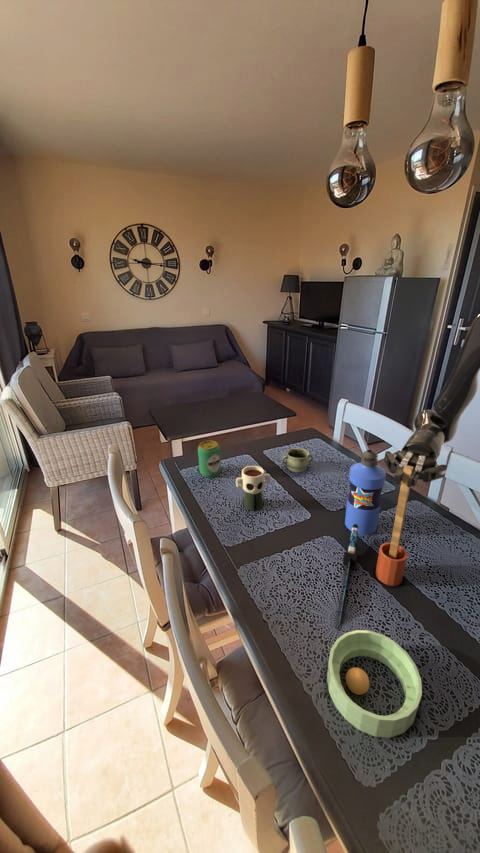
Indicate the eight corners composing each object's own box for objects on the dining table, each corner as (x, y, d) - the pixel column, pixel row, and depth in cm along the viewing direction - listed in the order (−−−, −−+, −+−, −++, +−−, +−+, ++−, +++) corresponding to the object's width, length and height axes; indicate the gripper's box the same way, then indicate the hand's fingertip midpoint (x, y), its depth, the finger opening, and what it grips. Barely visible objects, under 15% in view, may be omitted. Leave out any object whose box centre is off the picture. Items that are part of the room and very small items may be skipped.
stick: (390, 552, 86) (405, 464, 76) (397, 555, 85) (413, 466, 76) (388, 556, 85) (403, 467, 75) (395, 559, 84) (412, 470, 74)
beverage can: (206, 480, 132) (203, 451, 127) (196, 471, 138) (193, 443, 133) (225, 474, 136) (223, 445, 131) (214, 465, 142) (212, 438, 137)
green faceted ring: (398, 652, 72) (403, 631, 69) (430, 744, 58) (437, 723, 56) (321, 648, 73) (323, 628, 70) (334, 738, 59) (337, 717, 57)
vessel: (284, 474, 134) (284, 459, 132) (279, 462, 142) (279, 448, 140) (315, 471, 135) (316, 457, 133) (309, 460, 143) (310, 446, 141)
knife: (351, 533, 102) (352, 521, 100) (362, 536, 101) (364, 524, 98) (325, 632, 78) (326, 619, 76) (339, 637, 77) (340, 625, 75)
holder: (396, 570, 91) (402, 542, 87) (405, 590, 85) (411, 561, 82) (372, 569, 91) (376, 541, 88) (379, 589, 86) (384, 560, 82)
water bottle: (348, 512, 113) (357, 440, 102) (379, 521, 108) (391, 447, 98) (340, 530, 105) (348, 454, 95) (373, 540, 101) (385, 462, 91)
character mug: (239, 514, 113) (238, 479, 108) (235, 501, 120) (233, 467, 114) (272, 509, 115) (273, 474, 110) (266, 497, 121) (266, 463, 116)
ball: (364, 676, 67) (367, 662, 65) (370, 700, 63) (373, 686, 62) (342, 675, 67) (344, 661, 66) (347, 699, 64) (349, 685, 62)
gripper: (394, 429, 89) (372, 457, 76) (457, 442, 82) (444, 475, 69) (390, 455, 92) (368, 487, 79) (450, 470, 85) (437, 508, 72)
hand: (404, 481), depth 74 cm, fingers closed on stick, 1 cm apart
